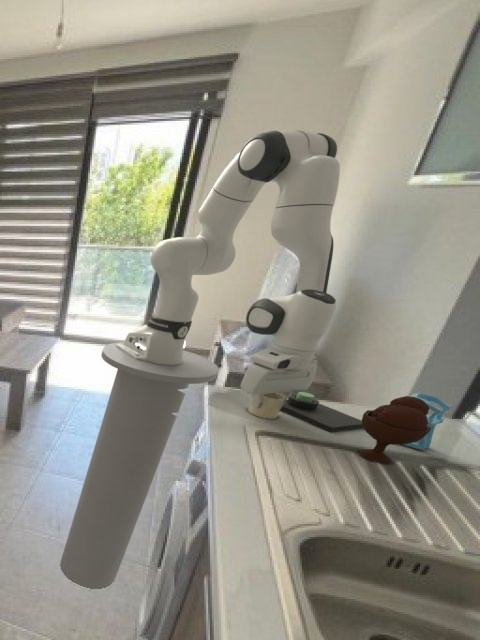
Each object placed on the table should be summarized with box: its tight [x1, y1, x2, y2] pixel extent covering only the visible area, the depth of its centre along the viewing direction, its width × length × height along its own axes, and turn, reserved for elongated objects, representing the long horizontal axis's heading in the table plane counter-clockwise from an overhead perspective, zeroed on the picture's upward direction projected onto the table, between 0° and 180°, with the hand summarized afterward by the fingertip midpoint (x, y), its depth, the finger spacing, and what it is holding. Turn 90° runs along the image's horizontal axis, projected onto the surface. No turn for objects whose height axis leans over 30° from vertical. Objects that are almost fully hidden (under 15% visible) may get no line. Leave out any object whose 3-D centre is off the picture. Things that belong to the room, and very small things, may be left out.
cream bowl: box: [247, 393, 286, 420], centre depth 128 cm, size 6×6×6 cm
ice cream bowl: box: [358, 395, 432, 465], centre depth 106 cm, size 11×11×15 cm
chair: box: [402, 393, 453, 451], centre depth 115 cm, size 8×8×12 cm
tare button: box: [296, 391, 315, 402], centre depth 132 cm, size 4×4×2 cm
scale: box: [280, 393, 364, 433], centre depth 129 cm, size 16×13×3 cm
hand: (266, 406), depth 128 cm, fingers closed on cream bowl, 6 cm apart
